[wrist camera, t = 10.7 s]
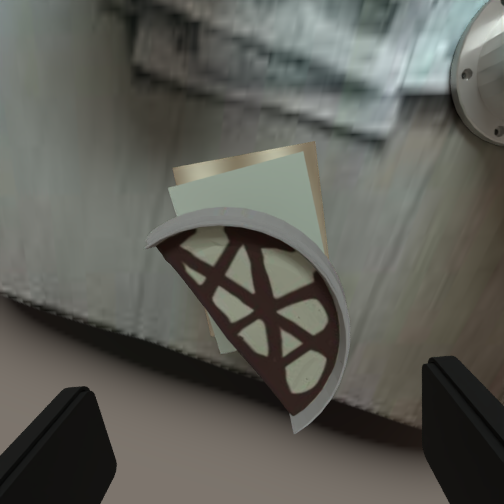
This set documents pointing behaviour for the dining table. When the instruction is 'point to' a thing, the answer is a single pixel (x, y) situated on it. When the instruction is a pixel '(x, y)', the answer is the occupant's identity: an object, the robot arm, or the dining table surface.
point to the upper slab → (255, 200)
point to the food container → (266, 299)
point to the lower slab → (236, 162)
